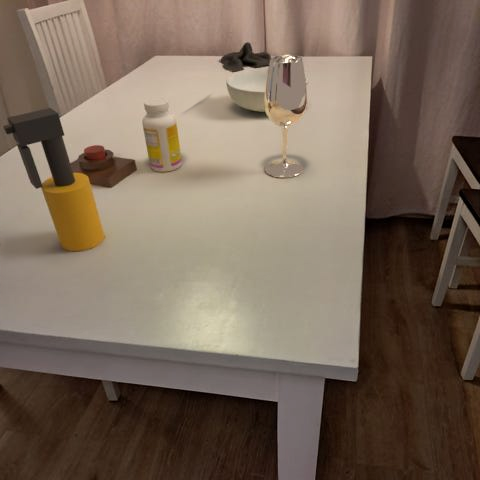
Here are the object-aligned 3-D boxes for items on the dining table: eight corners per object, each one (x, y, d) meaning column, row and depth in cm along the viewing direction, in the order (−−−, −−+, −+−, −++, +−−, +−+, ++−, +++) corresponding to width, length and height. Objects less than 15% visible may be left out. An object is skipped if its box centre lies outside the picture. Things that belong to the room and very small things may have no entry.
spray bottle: (57, 261, 72) (9, 129, 59) (43, 242, 76) (-5, 115, 63) (111, 241, 76) (77, 113, 62) (94, 224, 80) (59, 101, 67)
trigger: (36, 189, 67) (22, 149, 63) (30, 183, 68) (16, 144, 64) (43, 187, 67) (29, 147, 63) (37, 181, 69) (23, 142, 65)
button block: (63, 179, 95) (57, 160, 92) (90, 162, 101) (85, 144, 98) (111, 188, 91) (106, 168, 88) (137, 169, 97) (133, 150, 94)
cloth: (221, 56, 169) (220, 37, 165) (272, 54, 168) (272, 35, 164) (215, 72, 153) (213, 51, 149) (272, 70, 151) (272, 49, 147)
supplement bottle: (181, 158, 100) (172, 94, 92) (183, 171, 95) (174, 104, 87) (149, 162, 99) (138, 98, 91) (150, 174, 94) (138, 108, 86)
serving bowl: (248, 126, 113) (247, 95, 109) (216, 103, 128) (214, 76, 123) (321, 111, 119) (323, 82, 115) (283, 91, 134) (283, 64, 129)
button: (81, 160, 93) (79, 151, 91) (94, 152, 95) (92, 144, 94) (98, 162, 91) (95, 153, 90) (110, 155, 94) (108, 146, 93)
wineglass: (307, 176, 90) (313, 62, 77) (267, 179, 90) (266, 65, 77) (300, 160, 96) (304, 51, 83) (262, 163, 96) (261, 54, 83)
